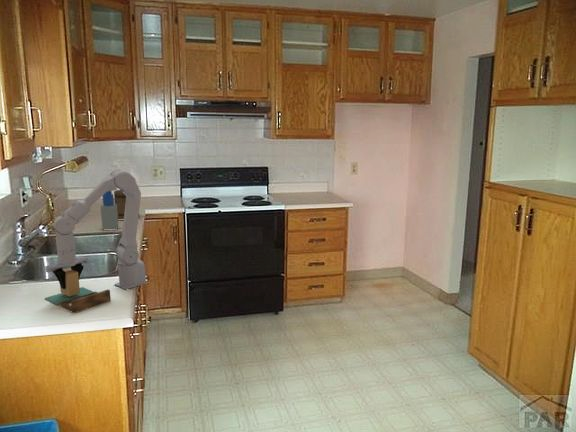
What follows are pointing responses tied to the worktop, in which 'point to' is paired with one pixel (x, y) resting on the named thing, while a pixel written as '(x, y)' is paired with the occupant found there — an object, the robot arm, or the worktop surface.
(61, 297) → the mat
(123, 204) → the wooden container
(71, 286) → the block
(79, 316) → the worktop surface
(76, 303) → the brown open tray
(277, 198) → the worktop surface
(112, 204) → the spray bottle
